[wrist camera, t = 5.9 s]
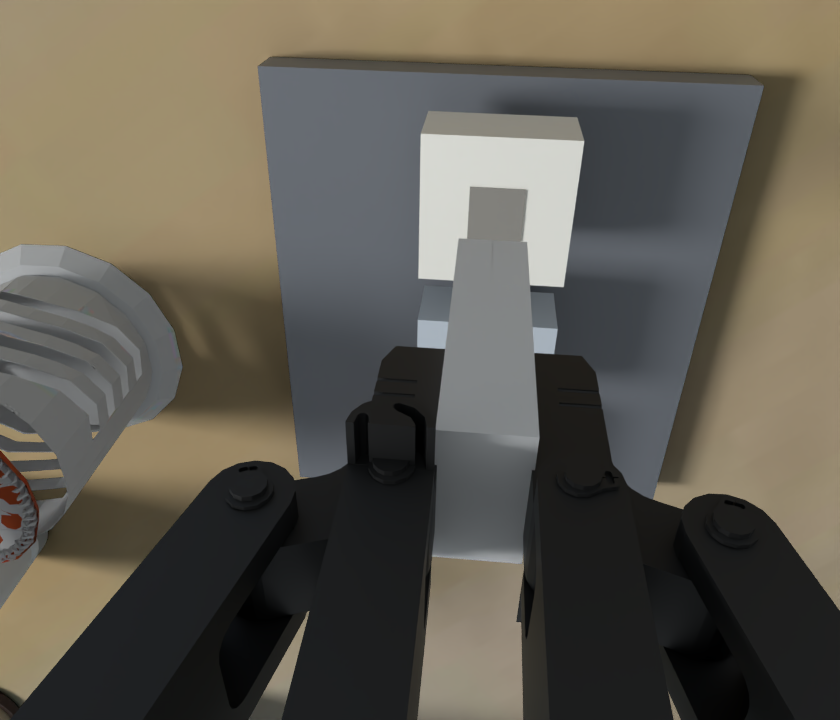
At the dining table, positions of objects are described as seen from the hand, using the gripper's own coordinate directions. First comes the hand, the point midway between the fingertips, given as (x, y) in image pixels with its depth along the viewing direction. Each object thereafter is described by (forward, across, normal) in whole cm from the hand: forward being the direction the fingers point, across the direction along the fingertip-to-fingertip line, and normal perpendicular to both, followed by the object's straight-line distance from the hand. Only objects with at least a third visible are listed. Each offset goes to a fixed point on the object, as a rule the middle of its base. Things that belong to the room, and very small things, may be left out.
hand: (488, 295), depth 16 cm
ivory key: (+10, 0, 0) cm, 10 cm away
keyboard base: (+11, 0, +6) cm, 13 cm away
